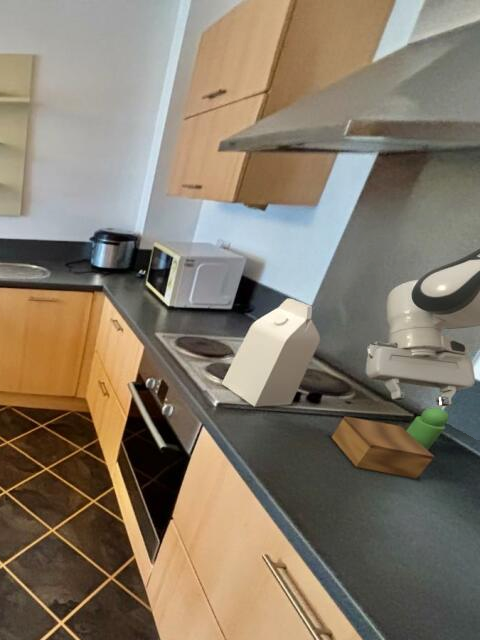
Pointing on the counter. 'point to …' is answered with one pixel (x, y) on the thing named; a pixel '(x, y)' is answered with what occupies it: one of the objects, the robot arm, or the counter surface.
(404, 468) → the oak block
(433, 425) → the toy
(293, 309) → the milk
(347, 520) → the counter surface
